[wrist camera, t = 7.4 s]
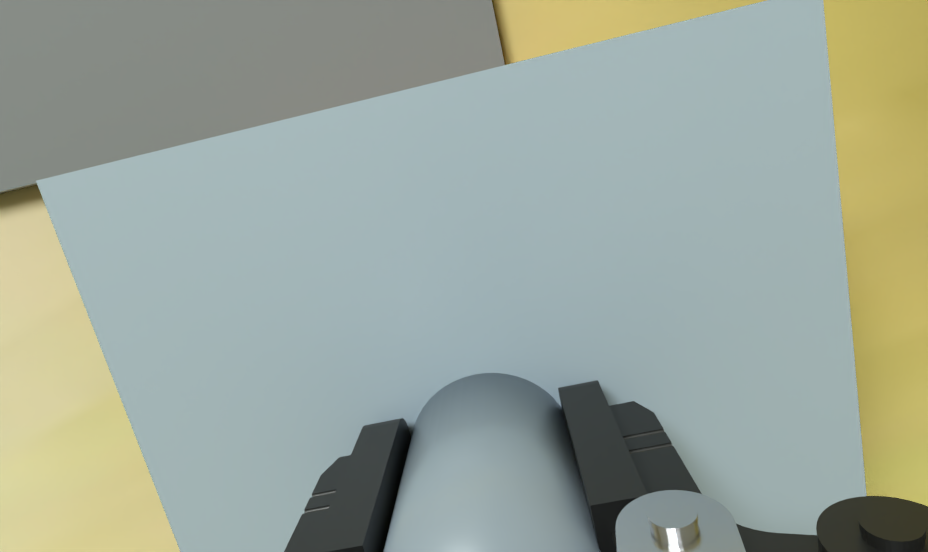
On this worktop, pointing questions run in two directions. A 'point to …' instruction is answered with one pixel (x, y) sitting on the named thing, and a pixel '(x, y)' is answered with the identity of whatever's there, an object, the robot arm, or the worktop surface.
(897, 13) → the worktop surface
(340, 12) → the mat
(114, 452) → the worktop surface
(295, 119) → the lid
